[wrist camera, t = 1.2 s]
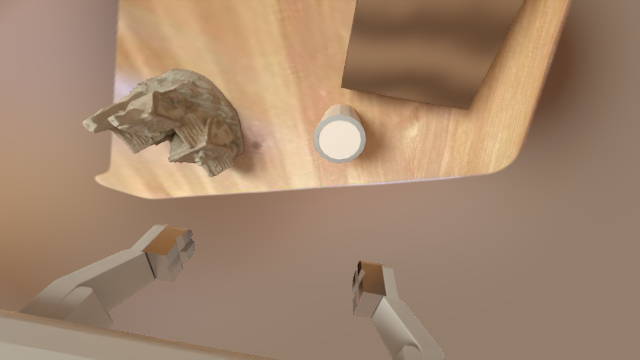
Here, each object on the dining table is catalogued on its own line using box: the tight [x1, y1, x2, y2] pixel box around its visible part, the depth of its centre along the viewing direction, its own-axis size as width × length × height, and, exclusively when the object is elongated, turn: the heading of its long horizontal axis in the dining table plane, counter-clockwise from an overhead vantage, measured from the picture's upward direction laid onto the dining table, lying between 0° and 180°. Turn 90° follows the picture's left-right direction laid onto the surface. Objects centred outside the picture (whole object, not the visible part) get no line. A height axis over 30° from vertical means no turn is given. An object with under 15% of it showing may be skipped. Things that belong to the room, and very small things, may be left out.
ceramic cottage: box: [83, 69, 244, 177], centre depth 33 cm, size 16×16×15 cm
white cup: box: [313, 104, 366, 163], centre depth 33 cm, size 7×7×7 cm
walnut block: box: [341, 0, 524, 110], centre depth 26 cm, size 16×16×5 cm
